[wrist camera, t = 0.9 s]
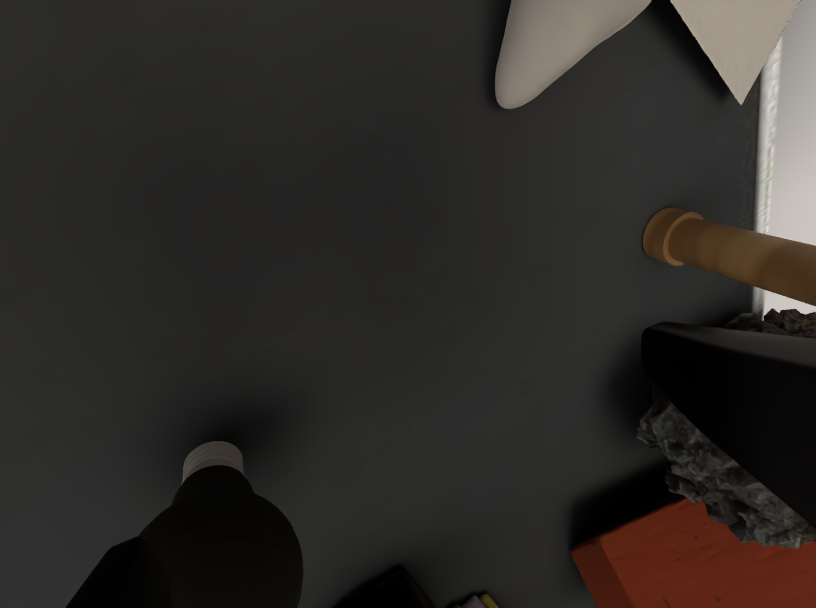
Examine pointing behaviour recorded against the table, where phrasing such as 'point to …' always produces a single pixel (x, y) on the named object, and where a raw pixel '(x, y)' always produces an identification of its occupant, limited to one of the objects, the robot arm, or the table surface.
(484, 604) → the dish towel
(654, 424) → the rock
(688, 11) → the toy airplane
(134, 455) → the table surface
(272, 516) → the light bulb
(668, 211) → the pestle
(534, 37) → the nose
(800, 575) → the brick
